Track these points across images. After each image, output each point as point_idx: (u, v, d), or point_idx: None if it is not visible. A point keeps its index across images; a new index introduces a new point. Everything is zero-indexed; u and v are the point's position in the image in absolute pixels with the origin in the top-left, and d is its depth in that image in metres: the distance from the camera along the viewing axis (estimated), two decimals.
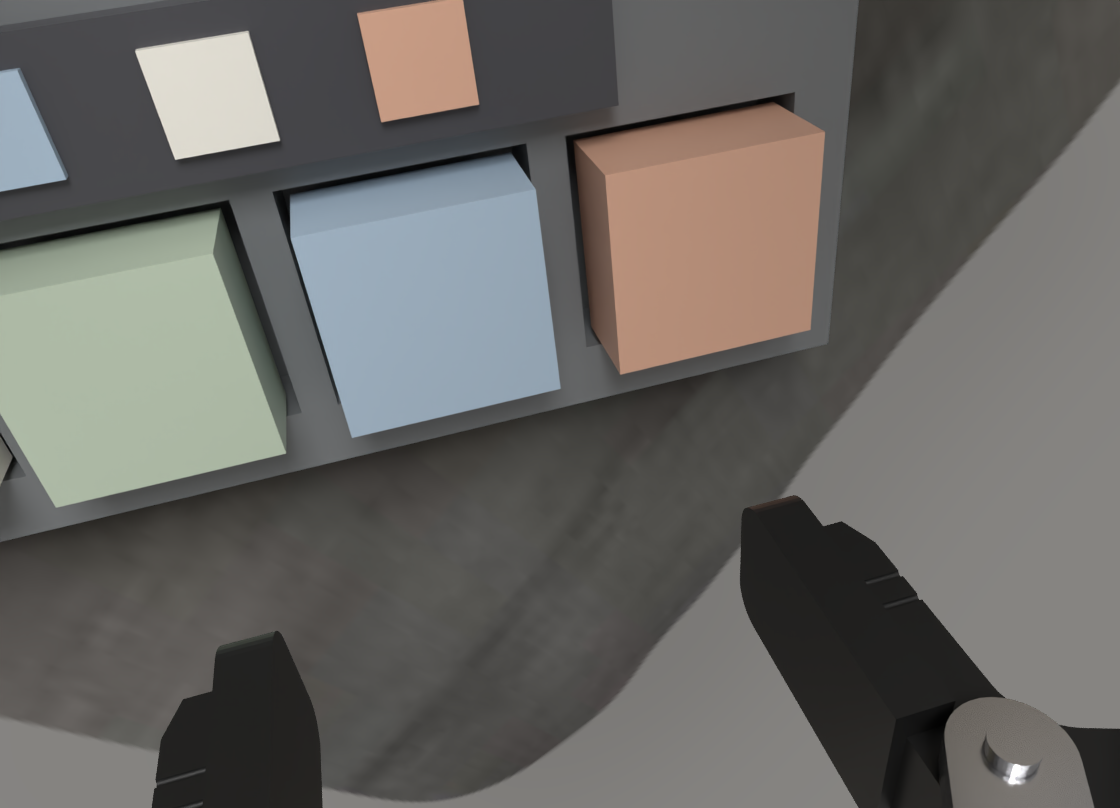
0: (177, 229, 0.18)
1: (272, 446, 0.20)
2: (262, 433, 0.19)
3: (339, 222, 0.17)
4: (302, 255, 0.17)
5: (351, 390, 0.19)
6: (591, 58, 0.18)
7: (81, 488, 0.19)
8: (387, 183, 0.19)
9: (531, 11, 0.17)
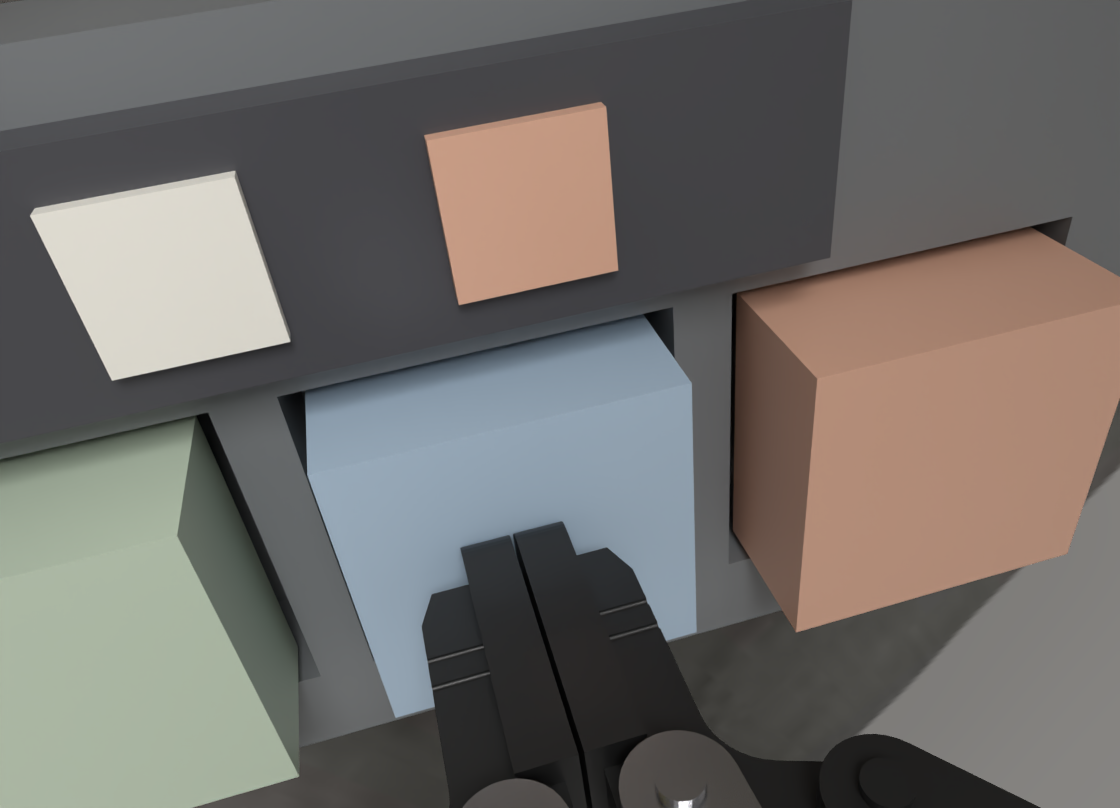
0: (124, 464, 0.11)
1: (278, 770, 0.13)
2: (262, 757, 0.12)
3: (384, 442, 0.11)
4: (326, 497, 0.11)
5: (397, 661, 0.13)
6: (798, 190, 0.11)
7: None
8: None
9: (713, 122, 0.10)
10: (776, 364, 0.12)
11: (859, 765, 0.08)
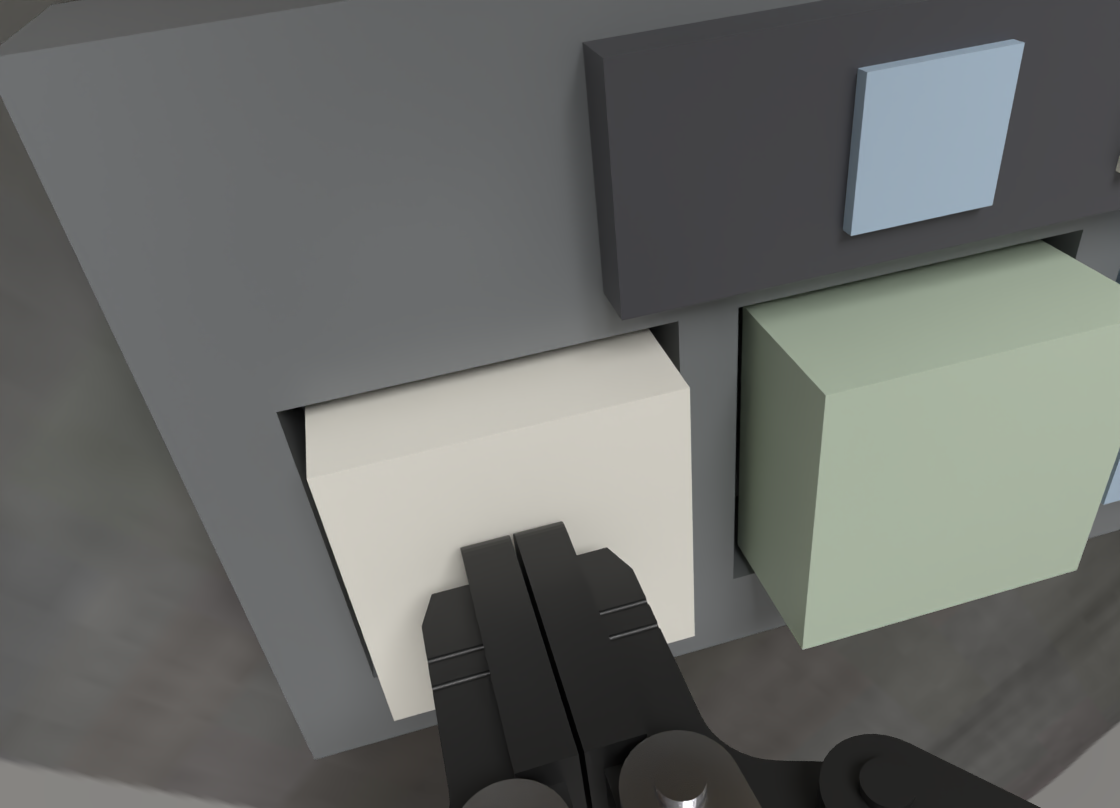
0: (1027, 271, 0.13)
1: (1068, 562, 0.14)
2: (1068, 546, 0.14)
3: None
4: None
5: None
6: None
7: (843, 624, 0.14)
8: None
9: None
10: None
11: (858, 765, 0.08)
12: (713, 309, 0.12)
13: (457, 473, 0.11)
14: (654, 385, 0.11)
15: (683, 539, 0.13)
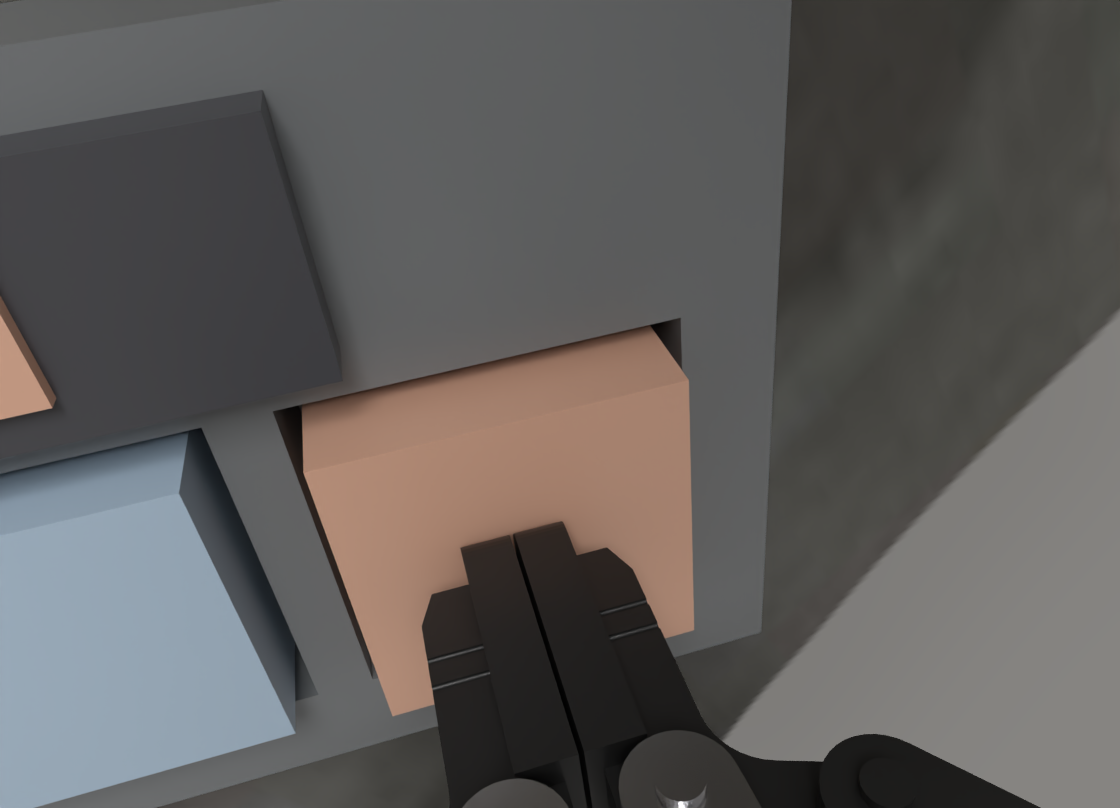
0: None
1: None
2: None
3: None
4: None
5: None
6: (272, 313, 0.10)
7: None
8: None
9: (127, 246, 0.09)
10: None
11: (858, 765, 0.08)
12: None
13: None
14: None
15: None
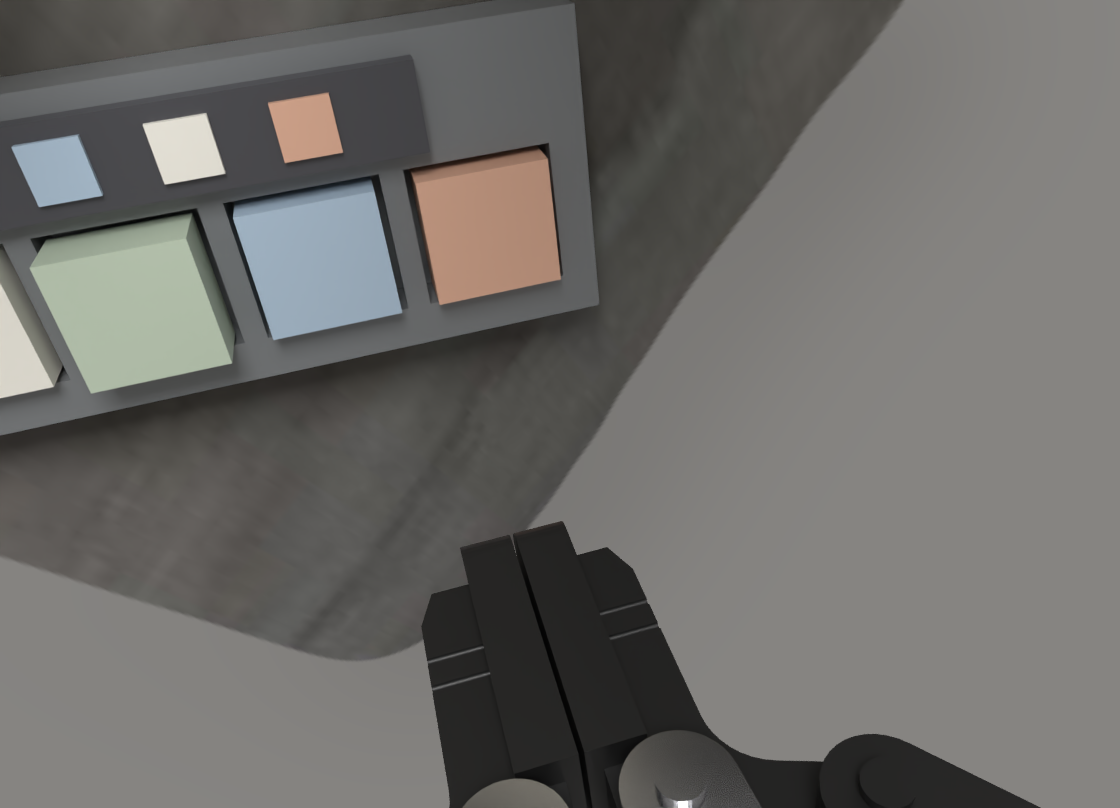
0: (165, 225, 0.30)
1: (223, 358, 0.32)
2: (217, 349, 0.32)
3: (261, 209, 0.31)
4: (239, 227, 0.31)
5: (271, 310, 0.33)
6: (410, 125, 0.30)
7: (106, 381, 0.31)
8: None
9: (371, 99, 0.30)
10: (414, 186, 0.33)
11: (858, 765, 0.08)
12: (17, 239, 0.30)
13: None
14: None
15: (22, 334, 0.31)
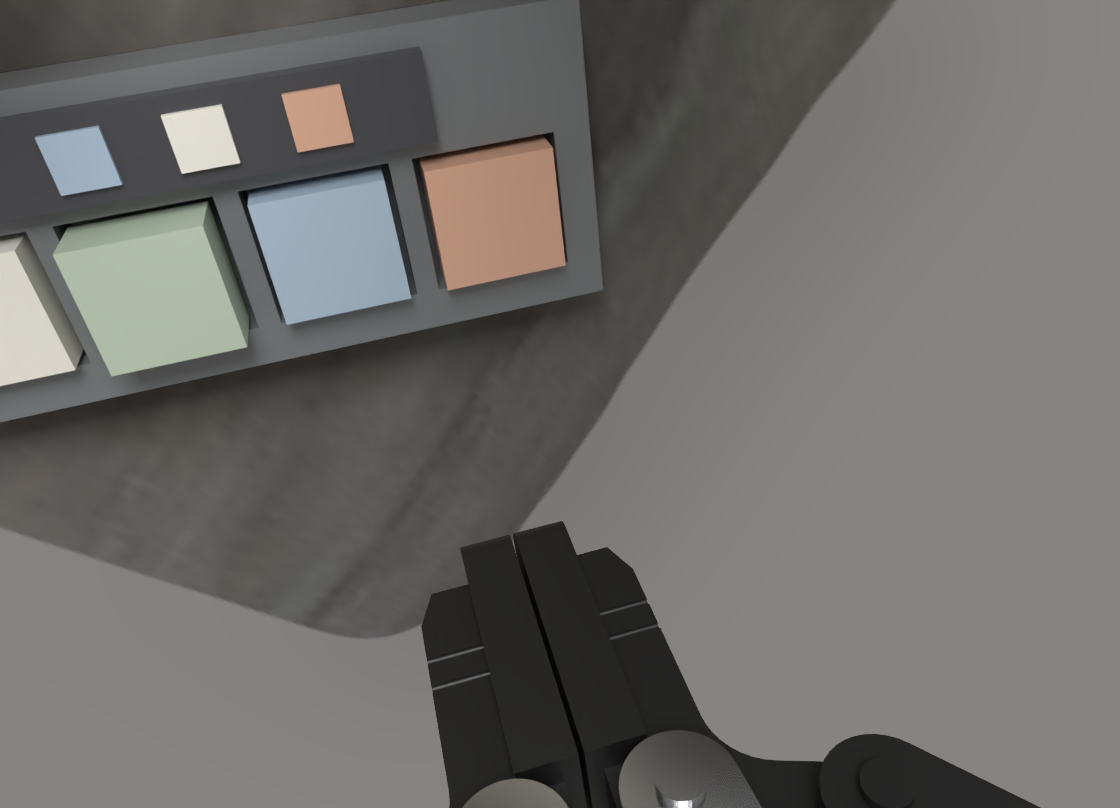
0: (182, 213, 0.31)
1: (238, 342, 0.33)
2: (232, 334, 0.33)
3: (274, 197, 0.32)
4: (254, 215, 0.32)
5: (285, 295, 0.34)
6: (419, 115, 0.31)
7: (126, 364, 0.32)
8: None
9: (381, 90, 0.30)
10: (422, 174, 0.34)
11: (859, 765, 0.08)
12: (40, 227, 0.31)
13: None
14: (3, 250, 0.30)
15: (45, 319, 0.32)
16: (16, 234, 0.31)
